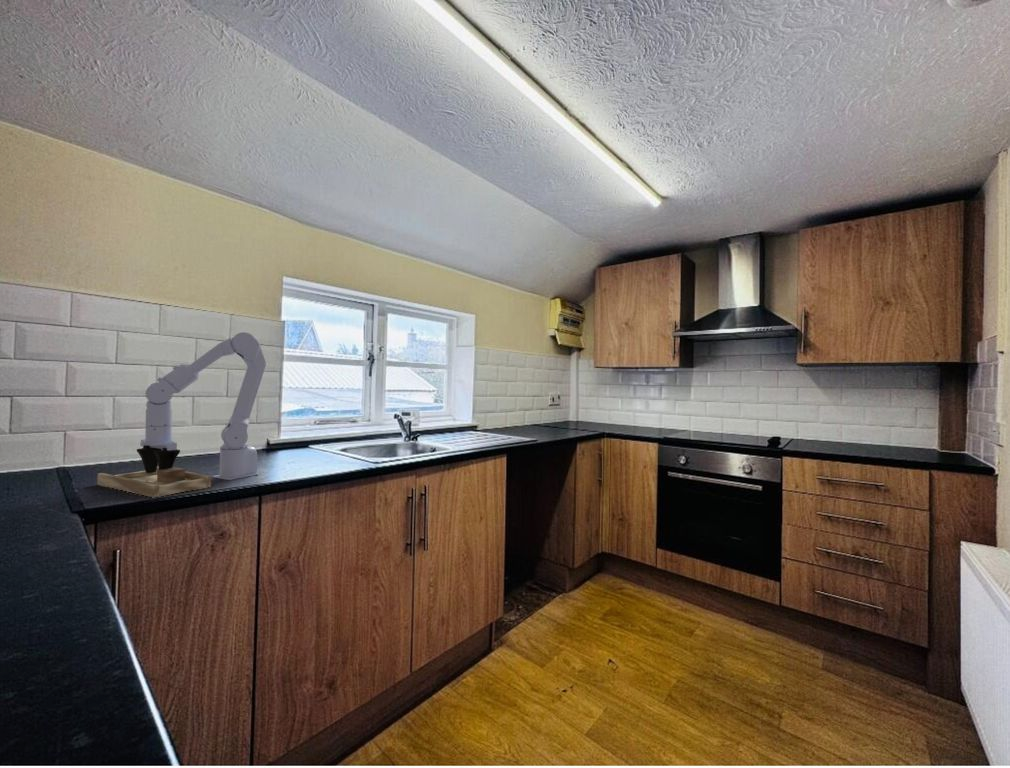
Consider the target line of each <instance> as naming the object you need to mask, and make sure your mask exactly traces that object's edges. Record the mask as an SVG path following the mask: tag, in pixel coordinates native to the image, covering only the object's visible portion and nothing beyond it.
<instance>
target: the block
mask: <svg viewBox="0 0 1010 768" xmlns="http://www.w3.org/2000/svg"><path fill="white" fill-rule="evenodd" d="M185 471H186V469H185V468H183V467H172V468H168V469H161V470H157V481H159V482H163V483H171V482H176V481H182V480H185Z"/></svg>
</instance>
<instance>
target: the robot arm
mask: <svg viewBox="0 0 1010 768" xmlns="http://www.w3.org/2000/svg"><path fill="white" fill-rule="evenodd" d="M234 354H236V355H238V356H239V357H240V358H241V359H242V361H243V362H244V363H245V365H246V366H247V368H246V370H245V374H244V377H243V380H242V383H241V386H240V389H239V391H238V395H237V398H236V401H235V404H234V408H233V410H232V413H231V416H230V418H229V421H228V423H227V425H226V426H225V427H224V428H223V429H222V431H221V435H220V437H221V440H222V441H223V444H222V445H221V446H220V447H219V448H220V449H219V474H216V475H212V477H213V478H214V479H219V480H226V481H231V480H232V481H233V480H238V479H243V478H248V477H253V476H258V475H259V472H258V452H257V449H256V447H254V446H253V445H249V444H246V443H247V441H248V438H249V435H248V428H249V422H250V421H249V420H250V417H251V413H252V411H253V407H254V404H255V401H256V397H257V395H258V391H259V388H260V385H261V382H262V379H263V376H264V373H265V369H266V366H267V361H266V359H265V356H264V353H263V350H262V347H261V344H260V342H259V341H258V340H257V338H256V337H255V336H254V335H252V334H251V333H249V332H245V331H244V332H238V333H236V334H235V335H234V336H233V337H228V338H227V339H226V340H223V341H221V342H219V343H218V344H216V345H214V346H213V347H212V348H211V349H209V350H208V351H207V352H205V353H204V354H203V355H201V356H199V357H198V358H197V359H196V360H195V361H193V362H192V363H190V364H187V363H186V364H183V363H181V364H180V365H175V366H173V367H172V370H171V371H170V372H168V373H167V374H165V375H164V376H163V377H158V378H156V381H157V382H154V383H151V384H150V385H149V386H148V387H147V388H146V390H145V394H144V395H145V397H146V399H147V401H146V403H145V404H146V409H145V433H144V435H145V437H144V439H140V442H139V444H140V447H142V448H136V452H137V453H138V455H139V456H140V458H141V460H142V461H141V462H142V463H143V467H144V471H146V473H152V472H156V470H157V466H159V470H161V469H168V468H174V463H175V461H176V458H177V457H178V455H179V454H180V453H181V450H180V449H178V448H177V447H178V443H177V442H175V441H174V440H172V433H173V432H172V431H173V427H172V423H173V419H172V418H173V409H172V408H171V407H172V400H171V399H172V398H173V396H174V394H179V393H181V392H183V391H184V390H185V389H186V388H188V387H189V386H190V385H192V384H194V383H195V382H196V381H198V379H199V373H200V372H201V371H203V370H204V369H206V368H207V367H208V366H210V365H212V364H213V363H215V362H217V360H219V359H221V358H222V357H226V356H230V355H231V356H233V355H234Z"/></svg>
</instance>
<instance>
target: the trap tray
mask: <svg viewBox="0 0 1010 768" xmlns="http://www.w3.org/2000/svg"><path fill="white" fill-rule="evenodd" d="M157 470H159V466H158V465H157ZM157 470H156V472H152V473H146V471H145V470H141V471H134V472H126V473H120V474H109V473H105V472H99V473H97V482H96V483H97V486H100V487H103V488H104V487H105V488H108V487H109V488H108V489H112V488H114V489H113V490H116V489H118V490H117V491H120V490H123V491H122V492H124V491H127V492H126V493H128V492H132V493H136V494H141V495H146V496H152V497H154V496H162V495H167V494H173V493H179V492H184V491H189V492H192V491H191V490H194V491H197V490H196V489H199V490H203V488H204V489H209V488H211V487H212V476H211V475H208V474H202V473H197V472H193V471H192V472H191V471H186V470H185V480H182V481H176V482H171V483H163V482H159V481H157ZM208 487H209V488H208ZM132 493H131V494H132ZM184 493H185V492H184ZM136 494H135V495H136ZM179 494H180V493H179ZM141 495H140V496H141Z"/></svg>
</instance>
